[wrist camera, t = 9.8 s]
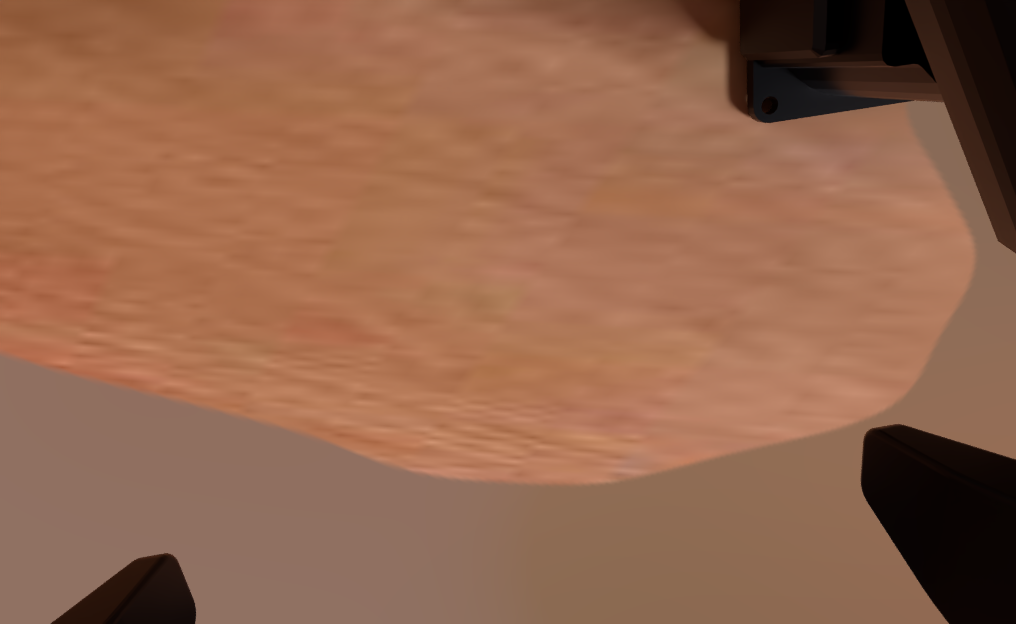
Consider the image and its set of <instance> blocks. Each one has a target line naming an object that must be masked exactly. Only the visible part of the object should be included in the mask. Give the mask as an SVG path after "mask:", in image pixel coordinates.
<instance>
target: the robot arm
mask: <svg viewBox="0 0 1016 624" xmlns="http://www.w3.org/2000/svg"><path fill="white" fill-rule="evenodd" d="M740 51H741V54H742V55H743V56H744V57H745V58H746V59H747V107H748V112H749V115H750V116H751V118H752V119H754V120H756V121H757V122H764V123H772V122H779V121H785V120H791V119H798V118H804V117H811V116H817V115H824V114H830V113H837V112H843V111H850V110H856V109H863V108H869V107H876V106H882V105H889V104H895V103H902V102H908V101H914V100H916V101H934V102H944V103H945V105H946V108H947V110H948V113H949V115H950V118H951V121H952V123H953V126H954V129H955V131H956V134H957V136H958V139H959V142H960V144H961V147H962V149H963V151H964V154H965V157H966V160H967V162H968V165H969V167H970V170H971V172H972V175H973V178H974V180H975V182H976V185H977V188H978V190H979V193H980V196H981V198H982V201H983V203H984V206H985V208H986V211H987V214H988V216H989V219H990V221H991V224H992V227H993V229H994V232H995V234H996V237H997V239H998V241H999V242H1000V243H1002V244H1003V245H1005V246H1006V247H1007V248H1009V249H1010V250H1012V251H1013V252H1015V253H1016V0H740ZM767 97H769V98H770V99H771V102H772V105H771V109H770V110H769V111H768V112H766V113H764V112H763V111H762V107H761V106H762V102H763V101H764V100H765V98H767ZM861 487H862V491H863V494H864V496H865V498H866V501H867V502H868V504H869V505H870V507H871V509H872V510H873V511H874V513H875V515H876V516H877V518H878V519H879V521H880V523H881V524H882V526H883V527H884V529H885V530H886V532H887V533H888V535H889V536H890V538H891V540H892V541H893V543H894V544H895V546H896V547H897V549H898V550H899V552H900V553H901V555H902V557H903V558H904V560H905V561H906V563H907V564H908V566H909V567H910V569H911V570H912V572H913V573H914V575H915V576H916V578H917V580H918V581H919V583H920V584H921V586H922V587H923V589H924V590H925V592H926V593H927V595H928V596H929V598H930V599H931V600H932V602H933V603H934V604H935V606H936V607H937V609H938V610H939V611H940V612H941V614H942V615H943V616H944V618H945V619H946V620H947V622H948V623H949V624H1016V459H1012V458H1009V457H1006V456H1003V455H999V454H996V453H993V452H989V451H986V450H983V449H979V448H977V447H973V446H970V445H967V444H964V443H960V442H957V441H954V440H951V439H947V438H944V437H941V436H938V435H934V434H931V433H928V432H925V431H922V430H918V429H915V428H912V427H908V426H905V425H901V424H894V425H888V426H882V427H877V428H872V429H870V430H869V431H867V432H866V434H865V436H864V441H863V454H862V470H861ZM195 621H196V608H195V603H194V600H193V597H192V595H191V592H190V590H189V587H188V585H187V582H186V580H185V577H184V575H183V572H182V570H181V567H180V565H179V563H178V561H177V559H176V558H175V557H174V556H173V555H171V554H168V553H165V554H159V555H154V556H148V557H142V558H138V559H136V560H134V561H133V562H131V563H130V564H129V565H127V566H126V567H125V568H123V569H122V570H121V571H119V572H118V573H117V574H115V575H114V576H113V577H112V578H110V579H109V580H108V581H106V582H105V583H104V584H102V585H101V586H100V587H98V588H97V589H96V590H95V591H93V592H92V593H90V594H89V595H88V596H86V597H85V598H84V599H82V600H81V601H80V602H78V603H77V604H76V605H75V606H73V607H72V608H71V609H69V610H68V611H67V612H65V613H64V614H63V615H61V616H60V617H59V618H57V619H56V620H55V621H53V622H52V623H51V624H195Z"/></svg>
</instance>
